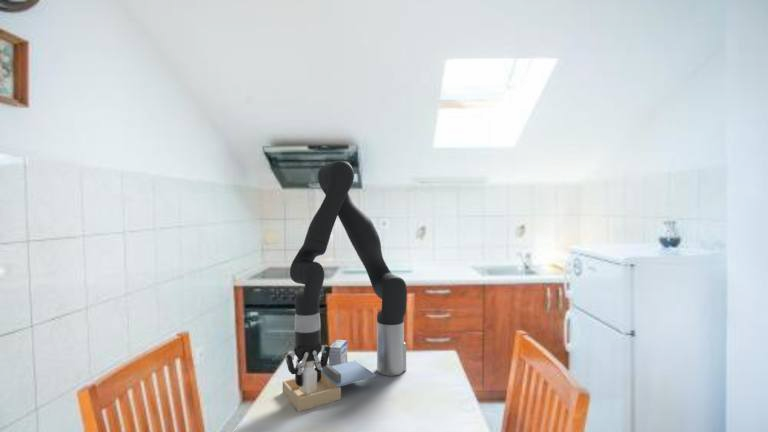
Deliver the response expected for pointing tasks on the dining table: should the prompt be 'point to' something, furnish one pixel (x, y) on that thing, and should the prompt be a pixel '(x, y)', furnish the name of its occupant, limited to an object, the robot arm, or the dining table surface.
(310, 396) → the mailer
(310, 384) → the pepper shaker
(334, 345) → the medicine box
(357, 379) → the lid
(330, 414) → the dining table surface
